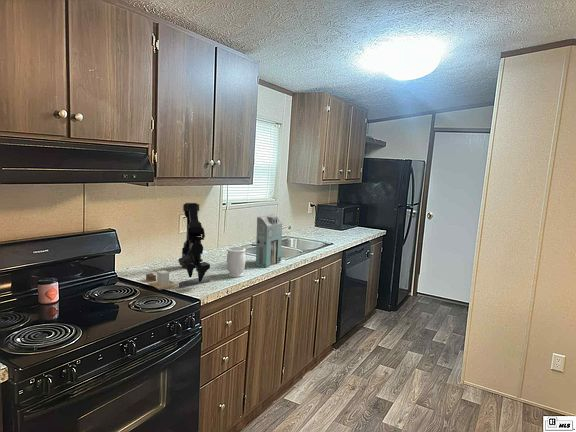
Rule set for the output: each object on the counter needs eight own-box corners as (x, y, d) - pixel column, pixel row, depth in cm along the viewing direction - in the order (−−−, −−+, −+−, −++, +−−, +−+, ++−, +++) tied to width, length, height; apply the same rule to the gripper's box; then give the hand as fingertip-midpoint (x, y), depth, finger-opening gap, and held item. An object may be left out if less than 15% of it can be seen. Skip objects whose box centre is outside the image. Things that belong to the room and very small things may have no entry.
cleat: (151, 278, 211) (151, 273, 210) (156, 281, 207) (156, 275, 207) (146, 279, 209) (146, 274, 208) (150, 282, 205) (150, 276, 205)
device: (266, 267, 240) (267, 218, 235) (255, 265, 244) (256, 217, 239) (280, 262, 253) (282, 215, 249) (270, 260, 257) (272, 214, 253)
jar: (239, 279, 216) (240, 251, 214) (222, 276, 220) (223, 249, 218) (248, 274, 226) (249, 248, 224) (232, 271, 230) (232, 245, 227)
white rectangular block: (164, 281, 205) (164, 270, 204) (169, 284, 202) (169, 272, 201) (157, 283, 202) (157, 271, 202) (161, 285, 199) (161, 273, 198)
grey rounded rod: (208, 280, 212) (208, 275, 212) (211, 281, 210) (211, 276, 210) (177, 287, 200) (177, 281, 199) (180, 288, 198) (180, 283, 197)
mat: (166, 279, 210) (166, 278, 210) (177, 285, 201) (177, 284, 201) (148, 283, 203) (148, 282, 203) (159, 289, 194) (159, 288, 194)
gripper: (171, 248, 203) (171, 277, 205) (190, 255, 190) (190, 287, 192) (190, 245, 211) (190, 274, 213) (210, 252, 198) (210, 282, 200)
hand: (195, 279), depth 205 cm, fingers open, 9 cm apart
